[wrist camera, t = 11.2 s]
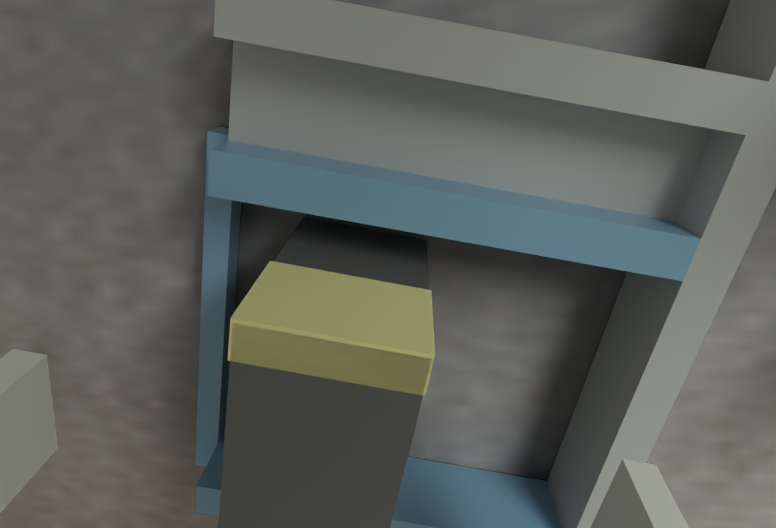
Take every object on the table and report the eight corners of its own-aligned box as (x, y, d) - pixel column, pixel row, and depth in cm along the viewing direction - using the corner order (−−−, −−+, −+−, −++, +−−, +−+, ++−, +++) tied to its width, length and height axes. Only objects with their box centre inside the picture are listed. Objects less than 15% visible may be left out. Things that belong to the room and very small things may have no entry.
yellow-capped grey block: (302, 213, 17) (230, 317, 10) (428, 236, 17) (434, 354, 10) (278, 415, 20) (211, 592, 13) (385, 434, 20) (369, 619, 14)
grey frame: (255, -669, 10) (193, -943, 7) (992, -517, 10) (1203, -724, 7) (205, 446, 21) (172, 508, 18) (568, 508, 21) (591, 580, 18)
